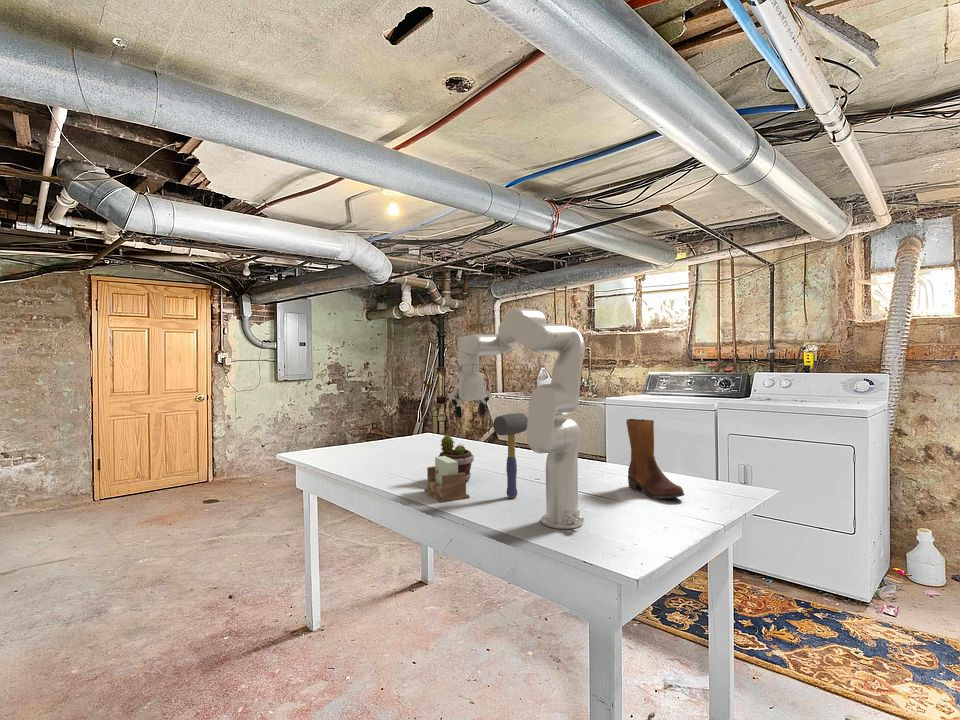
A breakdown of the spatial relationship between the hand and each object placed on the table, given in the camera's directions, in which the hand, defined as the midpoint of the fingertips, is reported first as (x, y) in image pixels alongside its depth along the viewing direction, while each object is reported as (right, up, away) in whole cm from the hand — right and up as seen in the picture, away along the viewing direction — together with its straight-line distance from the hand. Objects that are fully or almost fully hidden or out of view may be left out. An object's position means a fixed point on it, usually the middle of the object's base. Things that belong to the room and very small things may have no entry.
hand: (470, 416), depth 186 cm
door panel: (-9, -28, -1) cm, 29 cm away
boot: (+66, -28, -4) cm, 72 cm away
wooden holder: (-9, -29, -1) cm, 30 cm away
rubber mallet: (+15, -29, -6) cm, 33 cm away
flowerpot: (-6, -29, +18) cm, 34 cm away
